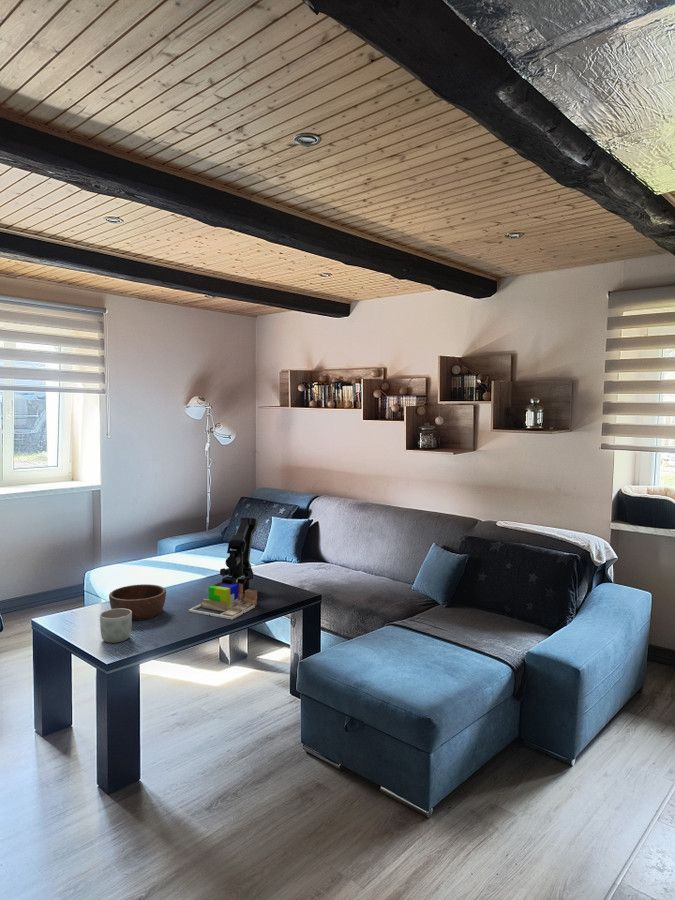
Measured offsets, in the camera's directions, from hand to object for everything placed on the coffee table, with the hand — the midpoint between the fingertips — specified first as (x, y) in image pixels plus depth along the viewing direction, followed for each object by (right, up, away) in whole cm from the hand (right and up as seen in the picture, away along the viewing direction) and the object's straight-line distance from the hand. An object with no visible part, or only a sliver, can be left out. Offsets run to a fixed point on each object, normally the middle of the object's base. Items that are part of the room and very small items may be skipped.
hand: (237, 594), depth 304 cm
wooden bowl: (-42, -4, -24) cm, 48 cm away
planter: (-40, -6, -55) cm, 69 cm away
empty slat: (+5, -3, -19) cm, 19 cm away
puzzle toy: (-4, -3, -13) cm, 14 cm away
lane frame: (-4, -3, -17) cm, 18 cm away
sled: (-4, -3, -8) cm, 9 cm away
